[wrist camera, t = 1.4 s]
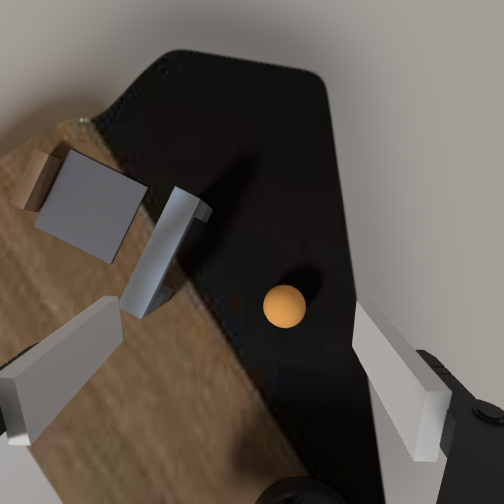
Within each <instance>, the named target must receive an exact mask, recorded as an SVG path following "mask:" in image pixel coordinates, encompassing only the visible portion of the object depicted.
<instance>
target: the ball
mask: <svg viewBox="0 0 504 504" xmlns="http://www.w3.org/2000/svg"><path fill="white" fill-rule="evenodd" d="M305 310H306V304H305V300H304V297H303V296H302V294H301V293H300V292H299V291H298V290H297V289H296V288H294V287H292V286H289V285H280V286H277V287H274V288H273V289H271V290H270V291H269V292H268V294H267V295H266V297H265V300H264V312H265V315H266V317H267V319H268V320H269V321H270V322H271V323H272V324H274V325H276V326H278V327H282V328H288V327H292V326H294V325H296V324H298V323H299V322H300V321H301V320H302V318H303V316H304V314H305Z"/></svg>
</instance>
